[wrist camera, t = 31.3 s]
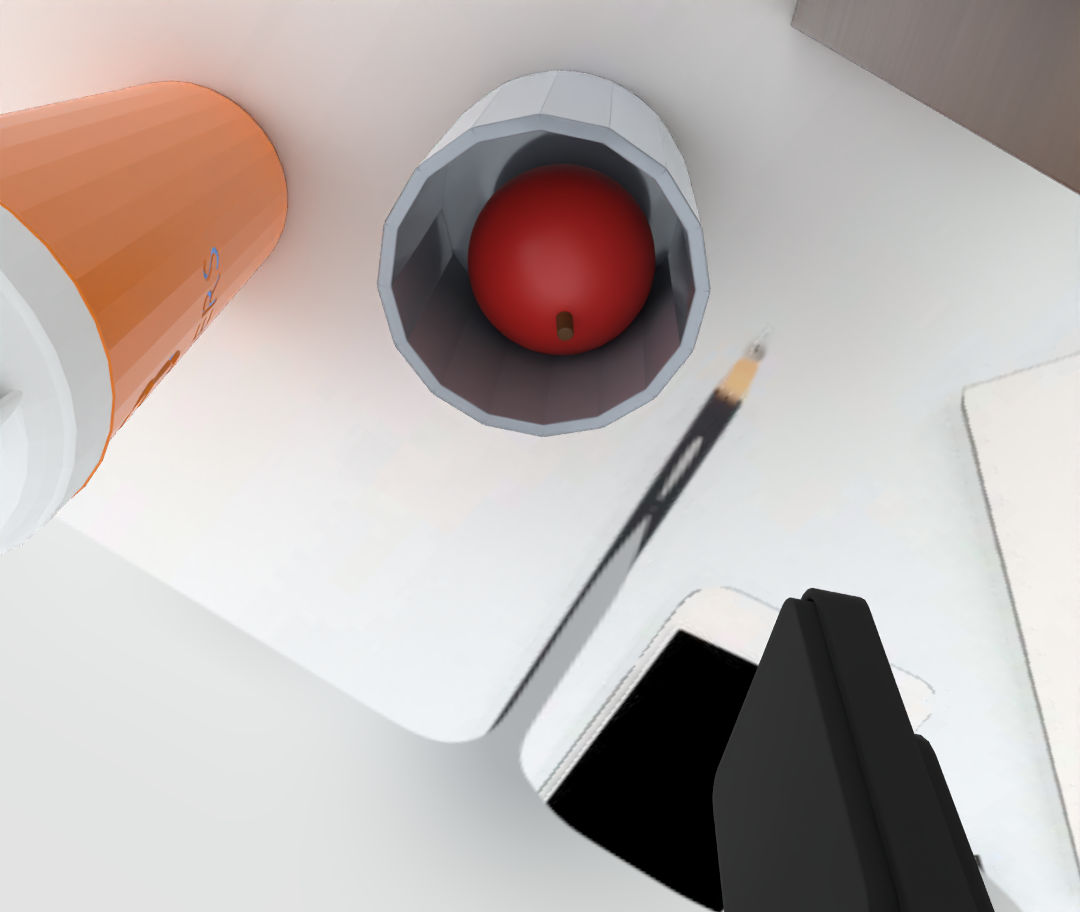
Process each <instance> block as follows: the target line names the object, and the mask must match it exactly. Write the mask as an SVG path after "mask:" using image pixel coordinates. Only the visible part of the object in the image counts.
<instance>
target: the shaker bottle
mask: <svg viewBox="0 0 1080 912" xmlns="http://www.w3.org/2000/svg"><path fill="white" fill-rule="evenodd" d="M287 208H288V206H287V186H286V181H285V177H284V172H283V168H282V165H281V163H280V160H279V158H278V156H277V153H276V151H275V148H274V147H273V145H272V144H271V142H270V140H269V139H268V137H267V136H266V134H265V133H264V131H263V130H262V129H261V127H260V126H259V125H258V124H257V123H256V122H255V121H254V120H253V119H252V117H251V116H250V115H249V114H248V113H247V112H245V111H244V110H243V109H242V108H240V107H239V106H238V105H236V104H235V103H234V102H233V101H231V100H230V99H228V98H226V97H224V96H222V95H220V94H219V93H217V92H215V91H213V90H211V89H208V88H205V87H202V86H199V85H196V84H192V83H186V82H177V81H164V82H154V83H148V84H143V85H139V86H134V87H129V88H124V89H120V90H115V91H110V92H105V93H101V94H96V95H91V96H86V97H82V98H77V99H72V100H67V101H63V102H58V103H53V104H48V105H44V106H39V107H34V108H29V109H25V110H20V111H15V112H10V113H6V114H1V115H0V555H1V554H4V553H6V552H8V551H10V550H12V549H14V548H16V547H18V546H20V545H22V544H23V543H25V542H26V541H27V540H28V539H29V538H30V537H31V536H33V535H34V534H35V533H36V532H37V531H38V530H39V529H41V528H42V527H43V526H44V525H45V524H47V522H48V521H49V520H50V519H51V518H52V517H53V516H54V515H55V514H56V513H57V512H58V511H59V510H60V509H61V508H62V507H63V506H64V505H65V504H66V503H67V502H68V501H69V500H70V499H71V498H72V497H74V496H75V495H76V494H77V493H78V492H79V491H80V490H82V489H83V488H84V487H85V486H86V484H87V483H88V481H89V480H90V478H91V477H92V475H93V474H94V473H95V471H96V470H97V468H98V467H99V465H100V464H101V462H102V461H103V458H104V455H105V452H106V449H107V446H108V444H109V441H110V440H111V439H112V437H113V436H114V435H115V434H116V432H117V431H118V430H119V429H120V428H121V427H122V426H123V425H124V424H125V422H126V421H127V420H128V419H129V418H130V417H131V415H132V414H133V413H134V411H135V410H136V409H137V408H138V407H139V406H140V405H141V404H142V403H143V401H144V400H145V399H146V398H147V397H148V396H149V394H150V393H151V392H152V391H153V390H154V389H155V388H156V386H157V385H158V384H159V383H160V382H161V381H162V379H163V378H164V377H165V375H166V374H167V373H168V372H169V371H170V370H171V369H172V368H173V367H174V365H175V364H176V363H177V362H178V361H179V360H180V358H181V357H182V356H183V355H184V354H185V353H186V351H187V350H188V349H189V348H190V347H191V346H192V344H193V343H194V342H195V341H196V340H197V339H198V338H199V336H200V335H201V334H202V333H203V332H204V331H205V329H206V328H207V327H208V326H209V325H210V324H211V322H212V321H213V320H214V319H215V318H216V317H217V315H218V314H219V313H220V312H221V311H222V310H223V309H224V307H225V306H226V305H227V304H228V303H229V302H230V300H231V299H232V298H233V297H234V296H235V295H236V293H237V292H238V291H239V290H240V289H241V288H242V286H243V285H244V284H245V283H246V282H247V281H248V279H249V278H250V277H251V276H252V275H253V274H254V272H255V271H256V270H257V269H258V268H259V267H260V266H261V264H262V263H263V262H264V261H265V260H266V259H267V257H268V256H269V255H270V253H271V252H272V250H273V249H274V247H275V246H276V244H277V243H278V241H279V238H280V236H281V233H282V231H283V228H284V226H285V220H286V214H287Z"/></svg>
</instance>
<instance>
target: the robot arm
mask: <svg viewBox="0 0 1080 912" xmlns="http://www.w3.org/2000/svg"><path fill="white" fill-rule="evenodd" d="M713 810H714V820H715V829H716V839H717V848H718V858H719V867H720V876H721V886H722V895H723V905H724V912H994V909H993V906H992V904H991V901H990V898H989V896H988V893H987V890H986V888H985V885H984V882H983V879H982V877H981V874H980V871H979V869H978V866H977V863H976V861H975V858H974V855H973V853H972V850H971V847H970V845H969V842H968V839H967V837H966V834H965V831H964V829H963V826H962V823H961V821H960V818H959V815H958V813H957V810H956V807H955V805H954V802H953V799H952V797H951V794H950V791H949V789H948V786H947V783H946V781H945V778H944V775H943V773H942V770H941V767H940V765H939V762H938V759H937V757H936V754H935V752H934V750H933V748H932V747H931V745H930V743H929V741H927V740H926V739H925V738H924V737H923V736H921V735H918V734H914V732H913V729H912V726H911V723H910V721H909V718H908V715H907V712H906V709H905V707H904V704H903V701H902V698H901V695H900V693H899V690H898V687H897V684H896V682H895V679H894V676H893V673H892V670H891V668H890V665H889V662H888V659H887V656H886V654H885V651H884V648H883V645H882V642H881V640H880V637H879V634H878V631H877V628H876V626H875V623H874V620H873V617H872V614H871V612H870V609H869V606H868V604H867V602H866V601H865V600H864V599H863V598H861V597H856V596H851V595H846V594H841V593H836V592H830V591H825V590H820V589H815V588H810V589H808V590H807V591H806V592H805V593H804V594H803V596H802V598H801V600H800V599H795V598H788V599H787V600H786V601H785V602H784V604H783V606H782V608H781V610H780V613H779V615H778V618H777V620H776V623H775V625H774V628H773V630H772V633H771V635H770V638H769V641H768V643H767V646H766V648H765V651H764V653H763V656H762V658H761V661H760V663H759V666H758V668H757V671H756V673H755V676H754V678H753V681H752V683H751V686H750V689H749V691H748V694H747V696H746V699H745V701H744V704H743V706H742V709H741V711H740V714H739V716H738V719H737V721H736V724H735V726H734V729H733V731H732V734H731V736H730V739H729V742H728V744H727V747H726V749H725V752H724V754H723V757H722V759H721V762H720V764H719V767H718V770H717V773H716V777H715V781H714V788H713Z"/></svg>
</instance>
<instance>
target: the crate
mask: <svg viewBox="0 0 1080 912" xmlns="http://www.w3.org/2000/svg"><path fill="white" fill-rule="evenodd" d="M791 26H792V27H794V28H795V29H797V30H799V31H801V32H802V33H804V34H806V35H807V36H809V37H811V38H813V39H814V40H816V41H818V42H819V43H821V44H823V45H824V46H826V47H828V48H830V49H831V50H833V51H835V52H836V53H838V54H840V55H841V56H843V57H845V58H847V59H848V60H850V61H852V62H853V63H855V64H857V65H859V66H860V67H862V68H864V69H865V70H867V71H869V72H870V73H872V74H874V75H876V76H877V77H879V78H881V79H882V80H884V81H886V82H887V83H889V84H891V85H893V86H894V87H896V88H898V89H899V90H901V91H903V92H905V93H906V94H908V95H910V96H911V97H913V98H915V99H916V100H918V101H920V102H922V103H923V104H925V105H927V106H928V107H930V108H932V109H933V110H935V111H937V112H939V113H940V114H942V115H944V116H945V117H947V118H949V119H951V120H952V121H954V122H956V123H957V124H959V125H961V126H962V127H964V128H966V129H968V130H969V131H971V132H973V133H974V134H976V135H978V136H979V137H981V138H983V139H985V140H986V141H988V142H990V143H991V144H993V145H995V146H997V147H998V148H1000V149H1002V150H1003V151H1005V152H1007V153H1008V154H1010V155H1012V156H1014V157H1015V158H1017V159H1019V160H1020V161H1022V162H1024V163H1026V164H1027V165H1029V166H1031V167H1032V168H1034V169H1036V170H1037V171H1039V172H1041V173H1043V174H1044V175H1046V176H1048V177H1049V178H1051V179H1053V180H1054V181H1056V182H1058V183H1060V184H1061V185H1063V186H1065V187H1066V188H1068V189H1070V190H1072V191H1073V192H1075V193H1077V194H1078V195H1080V0H798V2H797V5H796V9H795V12H794V16H793V19H792V23H791Z"/></svg>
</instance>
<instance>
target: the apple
mask: <svg viewBox="0 0 1080 912" xmlns="http://www.w3.org/2000/svg"><path fill="white" fill-rule="evenodd" d="M655 262H656V260H655V245H654V240H653V236H652V232H651V228H650V226H649V223H648V221H647V218H646V216H645V214H644V213H643V211H642V209H641V208H640V206H639V204H638V203H637V201H636V200H635V199H634V198H633V196H632V195H631V194H630V193H629V192H628V191H627V190H626V189H625V188H623V187H622V186H621V185H620V184H619V183H618V182H616V181H615V180H613V179H612V178H611V177H609V176H607V175H605V174H603V173H601V172H599V171H596V170H594V169H591V168H588V167H584V166H580V165H574V164H550V165H543V166H540V167H536V168H533V169H530V170H528V171H525V172H523V173H521V174H519V175H517V176H515V177H513V178H512V179H510V180H509V181H507V182H506V183H505V184H503V185H502V186H501V187H500V188H499V189H498V190H497V191H496V192H495V193H494V194H493V195H492V196H491V197H490V199H489V200H488V201H487V202H486V204H485V205H484V206H483V208H482V210H481V212H480V213H479V215H478V217H477V219H476V222H475V224H474V227H473V229H472V233H471V237H470V241H469V247H468V272H469V279H470V283H471V287H472V290H473V293H474V296H475V298H476V301H477V303H478V304H479V306H480V308H481V310H482V311H483V313H484V315H485V316H486V317H487V319H488V320H489V321H490V322H491V324H492V325H493V326H494V327H495V328H496V329H497V330H498V331H499V332H501V333H502V334H503V335H504V336H505V337H507V338H508V339H510V340H511V341H513V342H515V343H516V344H518V345H520V346H522V347H524V348H527V349H529V350H532V351H535V352H538V353H543V354H549V355H573V354H579V353H584V352H588V351H590V350H593V349H596V348H598V347H600V346H603V345H605V344H606V343H608V342H609V341H611V340H613V339H614V338H616V337H617V336H618V335H619V334H621V333H622V332H623V331H624V330H625V329H626V328H627V327H628V326H629V325H630V324H631V323H632V322H633V320H634V319H635V318H636V317H637V315H638V314H639V313H640V311H641V309H642V308H643V306H644V304H645V302H646V300H647V297H648V295H649V292H650V290H651V287H652V283H653V278H654V273H655Z"/></svg>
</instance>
